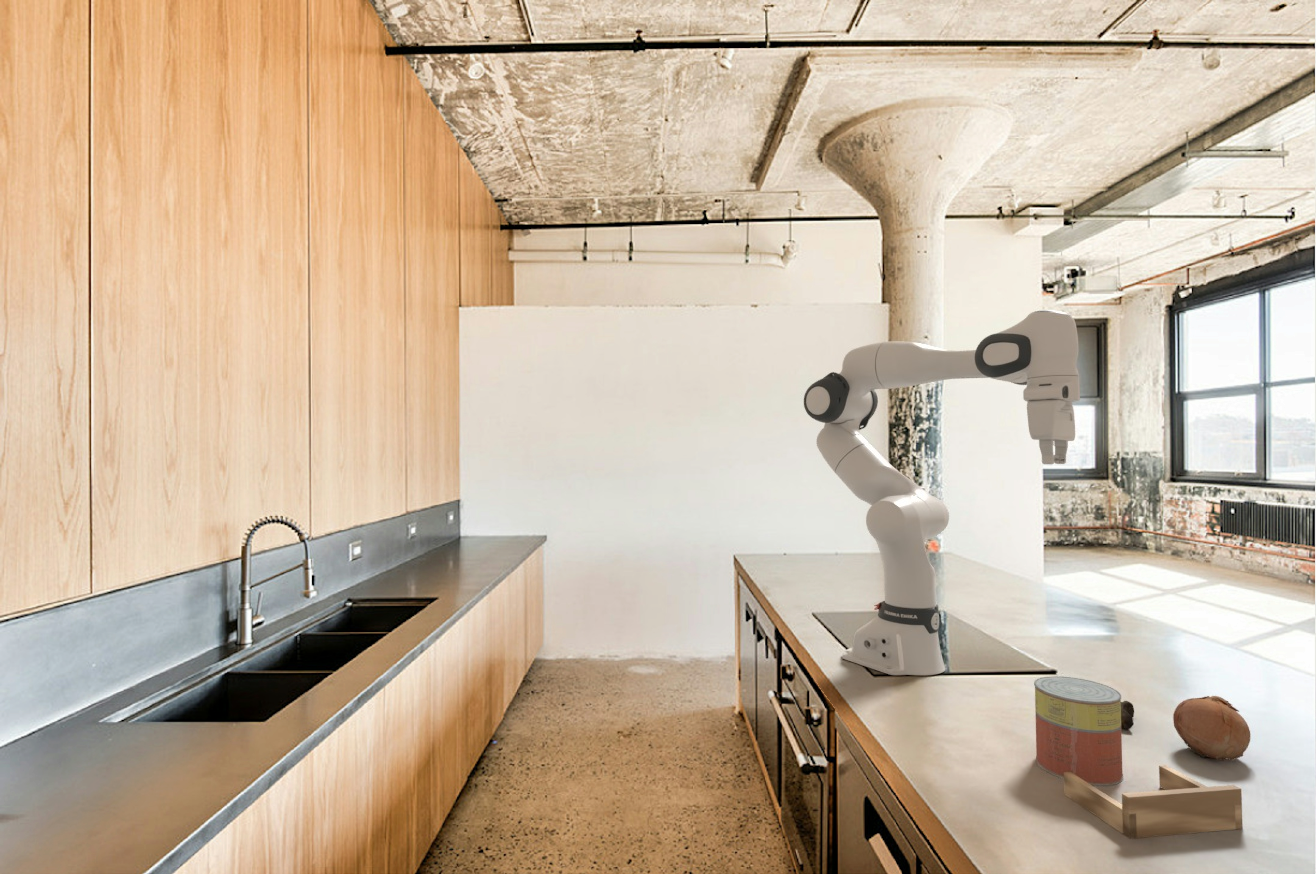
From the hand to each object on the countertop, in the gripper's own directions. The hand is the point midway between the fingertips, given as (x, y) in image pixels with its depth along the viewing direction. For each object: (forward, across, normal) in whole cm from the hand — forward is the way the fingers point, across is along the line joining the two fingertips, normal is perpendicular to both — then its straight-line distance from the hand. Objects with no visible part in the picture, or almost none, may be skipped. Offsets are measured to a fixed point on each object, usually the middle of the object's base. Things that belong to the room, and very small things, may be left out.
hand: (1054, 464), depth 128 cm
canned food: (+46, +28, +8) cm, 55 cm away
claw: (+47, -1, +5) cm, 47 cm away
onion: (+46, +8, +23) cm, 52 cm away
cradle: (+46, +36, +18) cm, 61 cm away
